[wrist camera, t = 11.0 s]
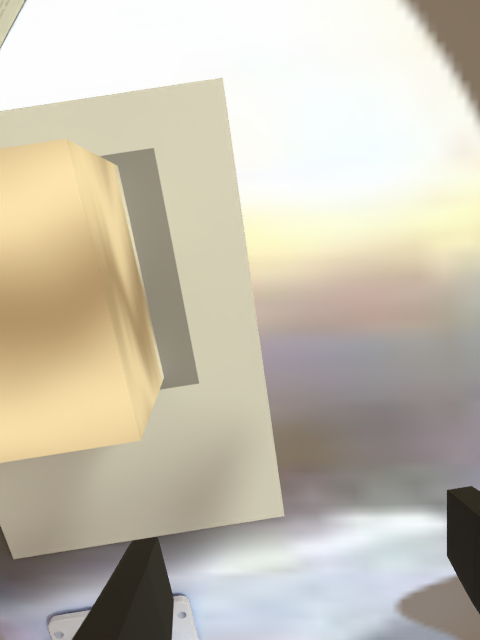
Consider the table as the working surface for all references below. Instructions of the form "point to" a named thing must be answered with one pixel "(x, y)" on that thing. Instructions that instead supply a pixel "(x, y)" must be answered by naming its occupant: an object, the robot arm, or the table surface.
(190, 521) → the board
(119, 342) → the block
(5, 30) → the small box
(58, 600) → the table surface
